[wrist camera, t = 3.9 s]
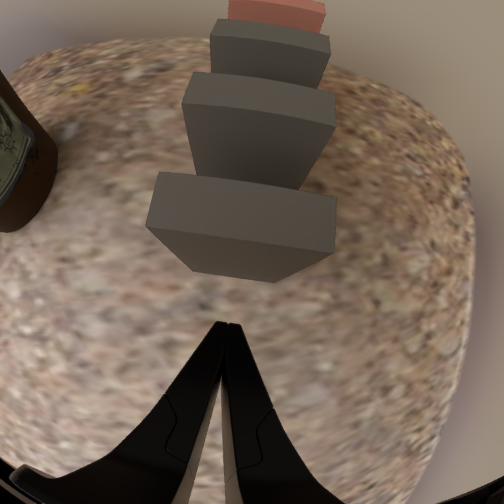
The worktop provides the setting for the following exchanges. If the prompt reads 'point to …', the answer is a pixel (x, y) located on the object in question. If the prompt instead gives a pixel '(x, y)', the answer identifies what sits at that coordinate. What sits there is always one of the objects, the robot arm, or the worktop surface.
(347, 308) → the worktop surface
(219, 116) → the domino
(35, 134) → the olive oil
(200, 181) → the domino
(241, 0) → the domino
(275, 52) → the domino
